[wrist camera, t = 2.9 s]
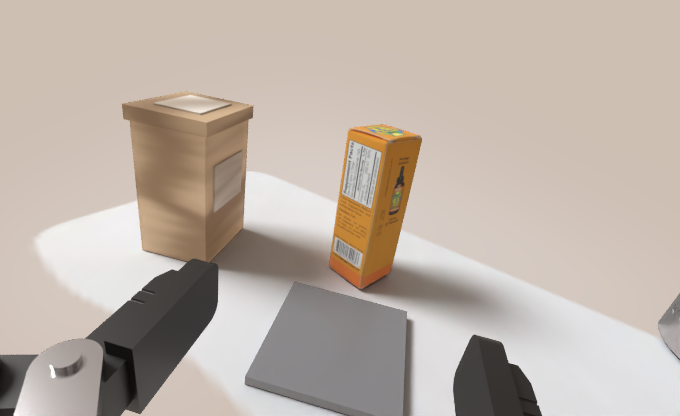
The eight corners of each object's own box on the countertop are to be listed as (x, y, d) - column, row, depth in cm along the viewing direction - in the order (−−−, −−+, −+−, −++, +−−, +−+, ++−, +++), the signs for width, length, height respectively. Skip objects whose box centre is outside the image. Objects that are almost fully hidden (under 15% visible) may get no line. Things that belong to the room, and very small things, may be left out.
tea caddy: (246, 227, 27) (253, 104, 23) (206, 269, 22) (206, 120, 18) (189, 212, 28) (186, 89, 24) (137, 250, 23) (121, 102, 19)
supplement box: (355, 251, 27) (384, 121, 23) (390, 275, 25) (429, 137, 20) (323, 265, 25) (348, 123, 20) (358, 293, 23) (394, 141, 18)
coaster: (404, 317, 21) (406, 311, 21) (399, 430, 15) (402, 423, 15) (293, 287, 22) (294, 281, 22) (244, 383, 16) (245, 376, 16)
